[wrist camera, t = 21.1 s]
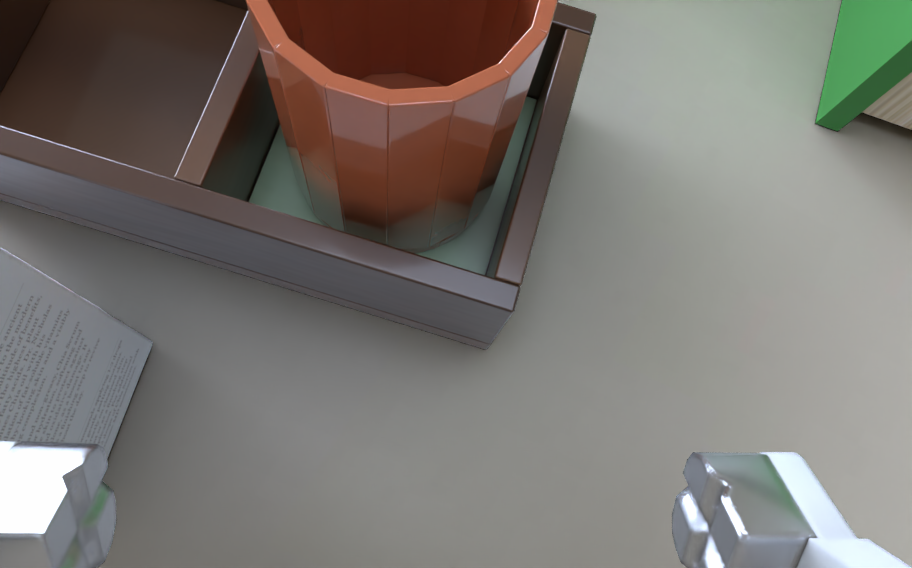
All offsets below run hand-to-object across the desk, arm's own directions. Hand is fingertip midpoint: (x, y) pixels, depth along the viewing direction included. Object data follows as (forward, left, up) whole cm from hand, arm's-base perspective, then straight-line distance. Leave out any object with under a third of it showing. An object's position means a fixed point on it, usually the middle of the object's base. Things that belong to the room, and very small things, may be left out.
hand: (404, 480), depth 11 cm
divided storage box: (+10, +8, -14) cm, 19 cm away
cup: (+10, +3, -13) cm, 17 cm away
